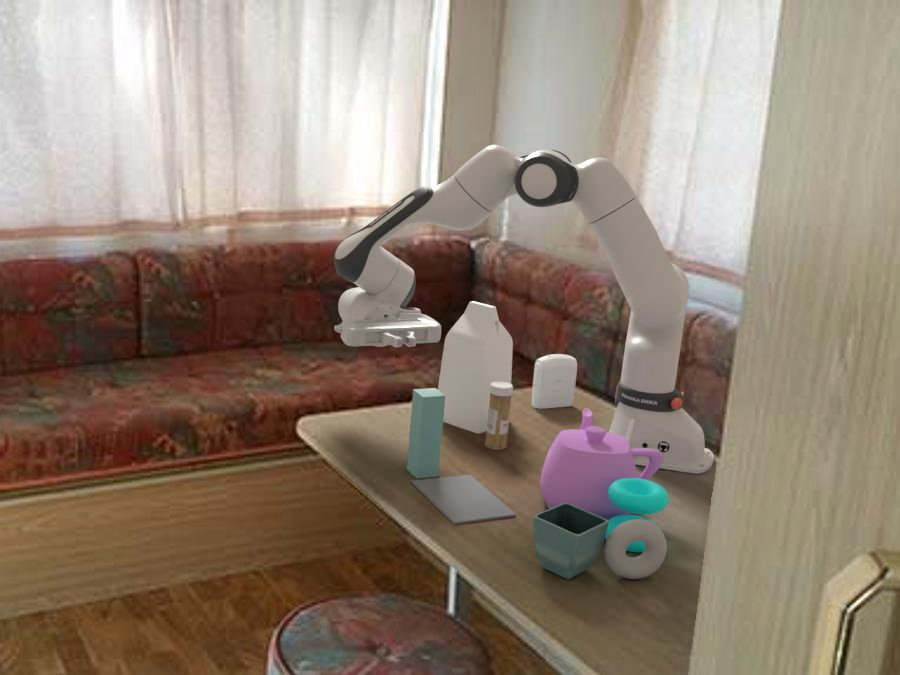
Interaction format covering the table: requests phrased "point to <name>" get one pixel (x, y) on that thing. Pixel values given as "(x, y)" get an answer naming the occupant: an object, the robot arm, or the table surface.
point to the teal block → (425, 432)
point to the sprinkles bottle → (498, 415)
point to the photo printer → (554, 381)
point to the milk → (474, 366)
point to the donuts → (636, 503)
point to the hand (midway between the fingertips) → (405, 343)
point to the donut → (628, 535)
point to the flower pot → (568, 539)
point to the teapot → (591, 468)
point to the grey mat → (463, 499)
